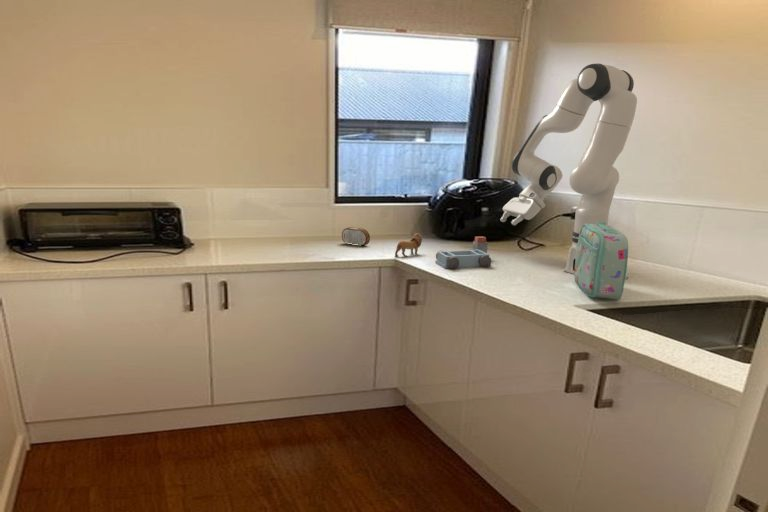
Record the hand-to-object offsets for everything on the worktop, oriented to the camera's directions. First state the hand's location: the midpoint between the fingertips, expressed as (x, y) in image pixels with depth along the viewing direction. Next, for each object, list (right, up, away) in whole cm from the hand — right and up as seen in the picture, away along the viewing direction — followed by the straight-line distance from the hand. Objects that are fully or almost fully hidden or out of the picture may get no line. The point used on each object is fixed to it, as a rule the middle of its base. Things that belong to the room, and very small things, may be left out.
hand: (507, 222), depth 197 cm
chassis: (-20, -17, -10) cm, 28 cm away
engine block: (-11, -15, 0) cm, 19 cm away
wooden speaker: (-65, -9, +30) cm, 72 cm away
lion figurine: (-40, -14, +7) cm, 43 cm away
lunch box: (+16, -25, -47) cm, 56 cm away
